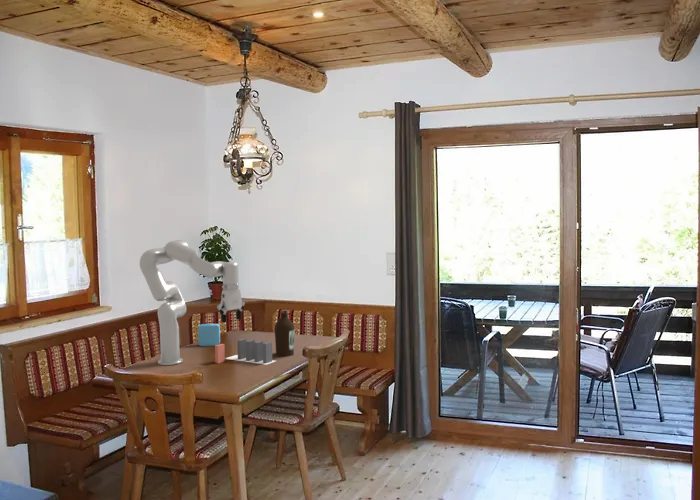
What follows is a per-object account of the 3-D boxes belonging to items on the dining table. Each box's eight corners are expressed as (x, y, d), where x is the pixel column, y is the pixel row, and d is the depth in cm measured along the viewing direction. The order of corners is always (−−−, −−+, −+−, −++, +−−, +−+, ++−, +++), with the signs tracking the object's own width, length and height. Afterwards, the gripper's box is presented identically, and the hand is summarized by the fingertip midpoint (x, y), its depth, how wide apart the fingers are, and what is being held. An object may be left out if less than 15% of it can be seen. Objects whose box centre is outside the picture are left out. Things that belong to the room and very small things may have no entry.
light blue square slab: (220, 343, 380) (219, 323, 379) (219, 345, 376) (219, 325, 375) (199, 344, 379) (198, 324, 378) (198, 346, 375) (197, 325, 374)
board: (224, 360, 340) (224, 358, 340) (235, 357, 348) (235, 354, 348) (266, 367, 327) (266, 364, 327) (276, 363, 335) (276, 360, 334)
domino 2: (246, 360, 336) (245, 341, 335) (252, 358, 340) (251, 339, 339) (249, 360, 335) (248, 341, 334) (255, 358, 339) (254, 339, 338)
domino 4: (263, 362, 330) (262, 343, 329) (269, 360, 334) (268, 341, 334) (266, 363, 329) (265, 344, 328) (272, 361, 333) (271, 342, 333)
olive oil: (272, 358, 344) (271, 311, 342) (279, 353, 355) (278, 308, 353) (291, 359, 342) (290, 312, 340) (297, 354, 352) (296, 309, 350)
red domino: (215, 365, 332) (215, 345, 331) (221, 362, 336) (221, 343, 335) (218, 365, 331) (218, 346, 330) (224, 363, 335) (224, 344, 334)
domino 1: (237, 359, 338) (237, 340, 337) (243, 357, 343) (243, 338, 342) (240, 359, 337) (240, 340, 336) (246, 357, 342) (246, 338, 341)
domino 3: (254, 361, 333) (254, 342, 332) (260, 359, 337) (260, 340, 336) (257, 362, 332) (257, 342, 331) (263, 360, 336) (263, 340, 335)
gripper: (222, 289, 316) (222, 324, 317) (248, 285, 329) (249, 319, 331) (212, 288, 321) (212, 322, 322) (239, 284, 334) (239, 317, 335)
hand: (231, 320), depth 326 cm, fingers open, 9 cm apart
